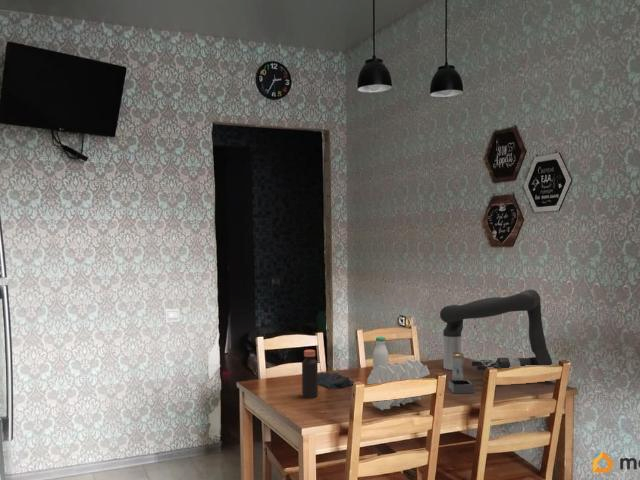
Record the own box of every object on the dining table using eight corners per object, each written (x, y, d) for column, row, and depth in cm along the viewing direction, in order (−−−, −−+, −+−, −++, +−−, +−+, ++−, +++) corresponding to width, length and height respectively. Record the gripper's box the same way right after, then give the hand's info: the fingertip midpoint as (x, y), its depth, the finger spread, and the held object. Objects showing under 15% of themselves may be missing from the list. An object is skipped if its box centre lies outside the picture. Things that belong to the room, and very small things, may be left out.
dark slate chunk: (330, 376, 289) (330, 367, 289) (357, 386, 271) (357, 376, 271) (305, 381, 281) (304, 371, 280) (331, 391, 262) (331, 380, 262)
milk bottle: (388, 380, 280) (387, 338, 280) (372, 379, 281) (371, 338, 281) (389, 376, 287) (389, 336, 287) (373, 375, 289) (373, 335, 289)
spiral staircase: (369, 418, 234) (409, 403, 250) (398, 408, 222) (438, 393, 238) (353, 375, 239) (393, 362, 256) (381, 363, 227) (421, 351, 243)
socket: (448, 388, 264) (448, 380, 264) (468, 387, 265) (468, 379, 265) (453, 393, 255) (453, 385, 255) (473, 393, 256) (473, 384, 256)
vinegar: (312, 399, 248) (311, 352, 248) (299, 397, 252) (298, 351, 251) (320, 395, 254) (320, 350, 254) (307, 393, 257) (307, 348, 257)
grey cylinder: (450, 381, 276) (450, 352, 276) (462, 381, 276) (461, 352, 276) (453, 384, 270) (453, 354, 270) (465, 384, 270) (464, 354, 270)
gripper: (503, 354, 281) (469, 354, 280) (513, 360, 266) (478, 361, 266) (503, 369, 281) (470, 370, 280) (513, 377, 267) (478, 377, 266)
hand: (474, 365), depth 273 cm, fingers open, 8 cm apart
